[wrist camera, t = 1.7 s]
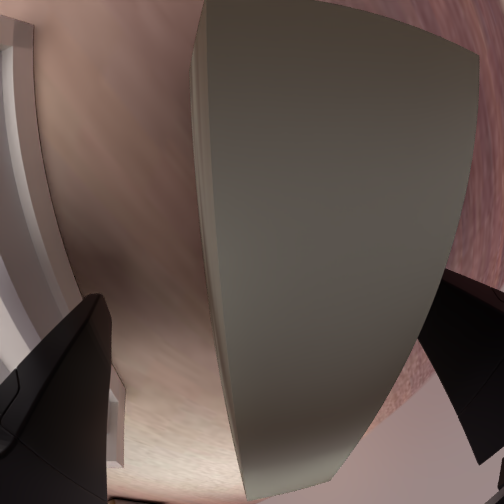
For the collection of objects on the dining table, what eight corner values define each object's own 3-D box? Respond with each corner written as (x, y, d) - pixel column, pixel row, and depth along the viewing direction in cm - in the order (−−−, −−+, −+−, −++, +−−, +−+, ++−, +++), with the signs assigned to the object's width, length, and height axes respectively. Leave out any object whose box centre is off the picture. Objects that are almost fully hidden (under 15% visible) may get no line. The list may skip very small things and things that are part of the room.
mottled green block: (273, 335, 15) (330, 480, 8) (214, 344, 14) (247, 501, 8) (279, 68, 9) (479, 55, 2) (189, 70, 8) (205, -6, 2)
